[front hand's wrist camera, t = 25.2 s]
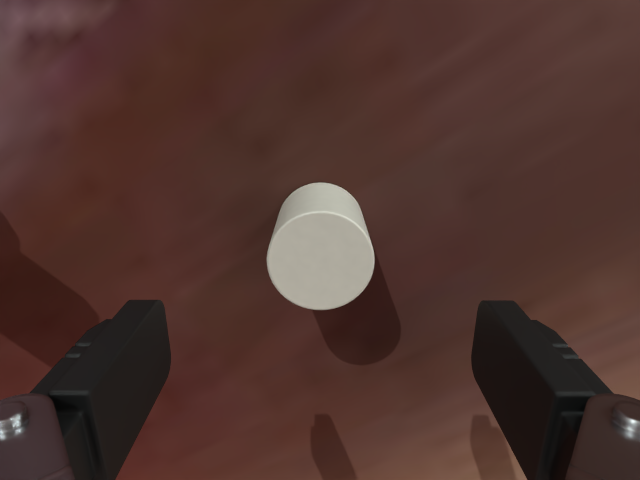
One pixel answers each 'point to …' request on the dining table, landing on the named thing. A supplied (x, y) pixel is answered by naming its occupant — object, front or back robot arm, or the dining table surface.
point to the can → (320, 248)
